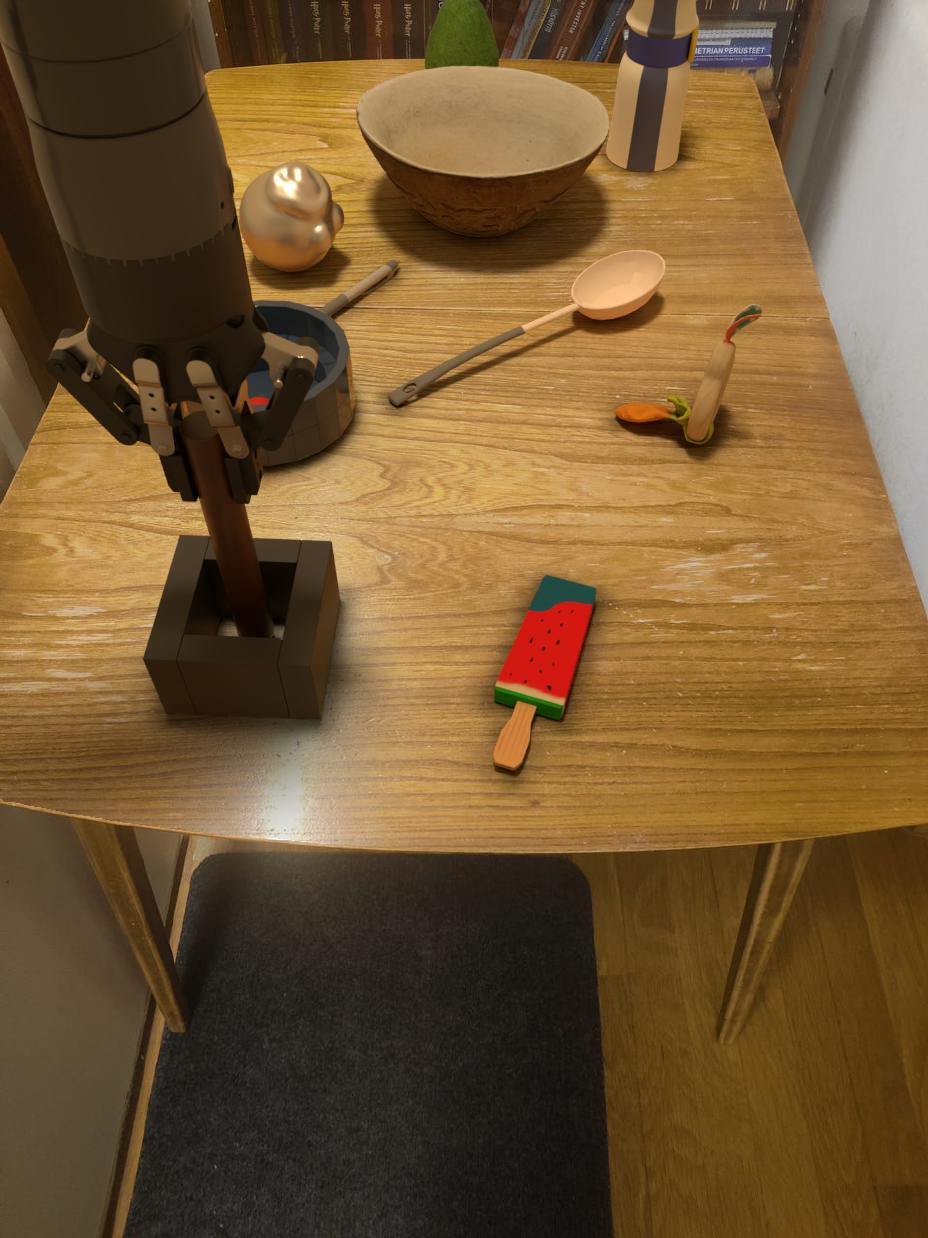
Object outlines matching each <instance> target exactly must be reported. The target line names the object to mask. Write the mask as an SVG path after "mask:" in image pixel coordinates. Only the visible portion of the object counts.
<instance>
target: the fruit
mask: <svg viewBox="0 0 928 1238" xmlns="http://www.w3.org/2000/svg"><path fill="white" fill-rule="evenodd" d="M424 56H425V57H424V70H426V69H433V68H439V67H449V66H489V67H500V51H499V48H498V43H497V39H496V36H495V32H494V30H493V27H492V23H491V20H490V18H489V15H488V14H487V11H486V9H485V7H484V4H483V3H482V2H481V1H480V0H443V2H442V4H441V6H440V8H439V9H438V11H437V15H436V18H435V20H434V23H433V25H432V28H431V30H430V33H429V35H428V38H427V42H426V47H425V54H424Z"/></svg>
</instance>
